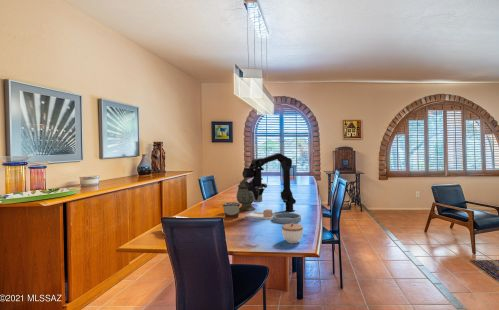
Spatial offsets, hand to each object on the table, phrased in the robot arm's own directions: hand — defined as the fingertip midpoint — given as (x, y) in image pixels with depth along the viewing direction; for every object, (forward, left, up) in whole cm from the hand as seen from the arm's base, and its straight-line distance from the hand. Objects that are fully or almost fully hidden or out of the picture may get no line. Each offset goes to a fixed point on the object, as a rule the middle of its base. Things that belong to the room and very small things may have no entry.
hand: (257, 199), depth 211 cm
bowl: (+3, +22, -12) cm, 25 cm away
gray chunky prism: (0, 0, -2) cm, 2 cm away
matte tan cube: (0, +7, -11) cm, 14 cm away
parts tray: (0, +3, -12) cm, 12 cm away
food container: (+9, -16, -12) cm, 22 cm away
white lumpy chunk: (+52, -21, -12) cm, 57 cm away
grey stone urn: (-15, -18, -12) cm, 26 cm away
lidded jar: (+42, +40, -12) cm, 59 cm away
